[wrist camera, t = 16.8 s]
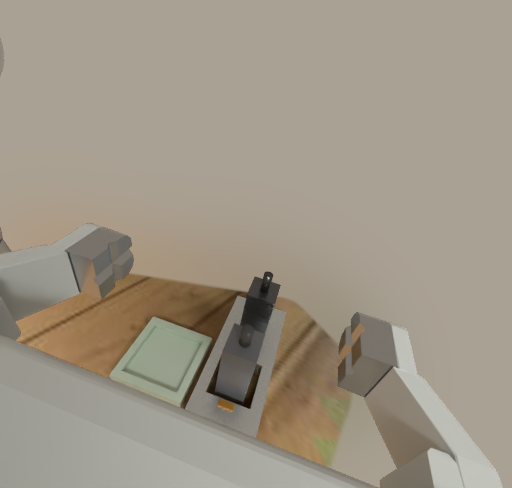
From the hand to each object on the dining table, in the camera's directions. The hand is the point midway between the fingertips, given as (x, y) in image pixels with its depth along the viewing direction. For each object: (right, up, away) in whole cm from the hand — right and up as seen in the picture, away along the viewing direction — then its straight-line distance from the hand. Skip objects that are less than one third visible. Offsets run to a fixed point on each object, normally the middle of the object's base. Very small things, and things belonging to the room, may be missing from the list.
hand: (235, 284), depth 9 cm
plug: (-3, -19, +29) cm, 34 cm away
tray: (-12, -15, +30) cm, 36 cm away
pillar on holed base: (-1, -16, +32) cm, 36 cm away
